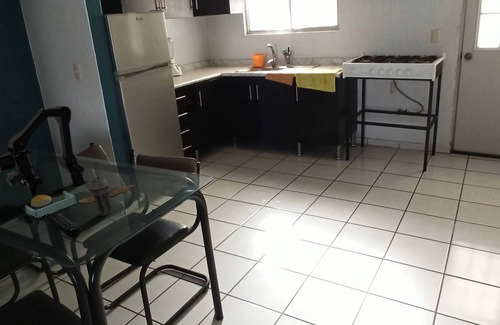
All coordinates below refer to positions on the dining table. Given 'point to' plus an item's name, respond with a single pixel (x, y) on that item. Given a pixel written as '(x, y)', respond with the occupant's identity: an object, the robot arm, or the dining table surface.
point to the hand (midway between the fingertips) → (33, 196)
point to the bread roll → (40, 200)
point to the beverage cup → (101, 194)
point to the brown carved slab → (111, 193)
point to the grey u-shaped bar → (53, 206)
